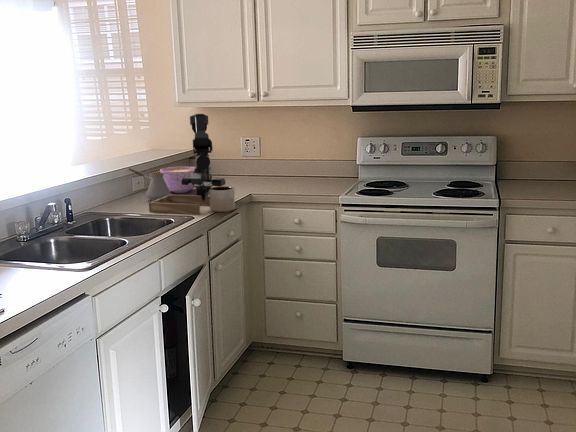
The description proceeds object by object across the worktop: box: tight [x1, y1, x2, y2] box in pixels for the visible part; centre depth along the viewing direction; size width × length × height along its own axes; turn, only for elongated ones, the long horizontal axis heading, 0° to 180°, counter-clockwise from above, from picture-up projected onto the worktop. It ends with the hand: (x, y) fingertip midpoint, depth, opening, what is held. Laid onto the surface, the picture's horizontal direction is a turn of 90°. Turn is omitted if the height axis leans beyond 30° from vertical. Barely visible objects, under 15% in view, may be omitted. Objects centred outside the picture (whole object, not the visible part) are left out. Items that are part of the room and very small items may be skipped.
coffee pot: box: [126, 167, 172, 202], centre depth 302 cm, size 21×12×15 cm, turn 74°
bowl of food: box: [159, 166, 196, 194], centre depth 324 cm, size 20×20×12 cm
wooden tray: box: [148, 194, 210, 215], centre depth 281 cm, size 20×24×4 cm
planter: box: [208, 185, 236, 213], centre depth 275 cm, size 11×11×10 cm
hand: (204, 201), depth 278 cm, fingers closed
